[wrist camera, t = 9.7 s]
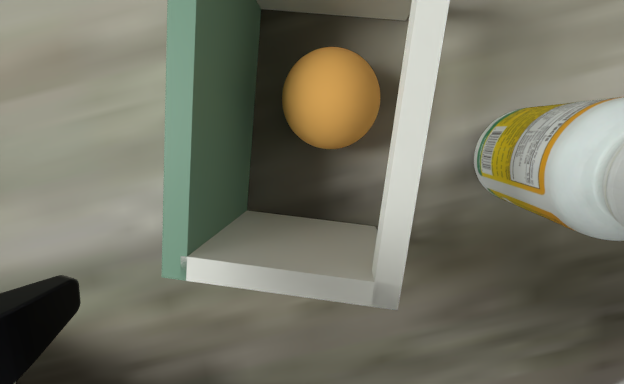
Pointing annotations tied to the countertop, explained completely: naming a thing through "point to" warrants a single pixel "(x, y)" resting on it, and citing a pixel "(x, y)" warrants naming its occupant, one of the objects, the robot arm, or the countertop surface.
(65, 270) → the countertop surface
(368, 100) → the ball
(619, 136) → the supplement bottle
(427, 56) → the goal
